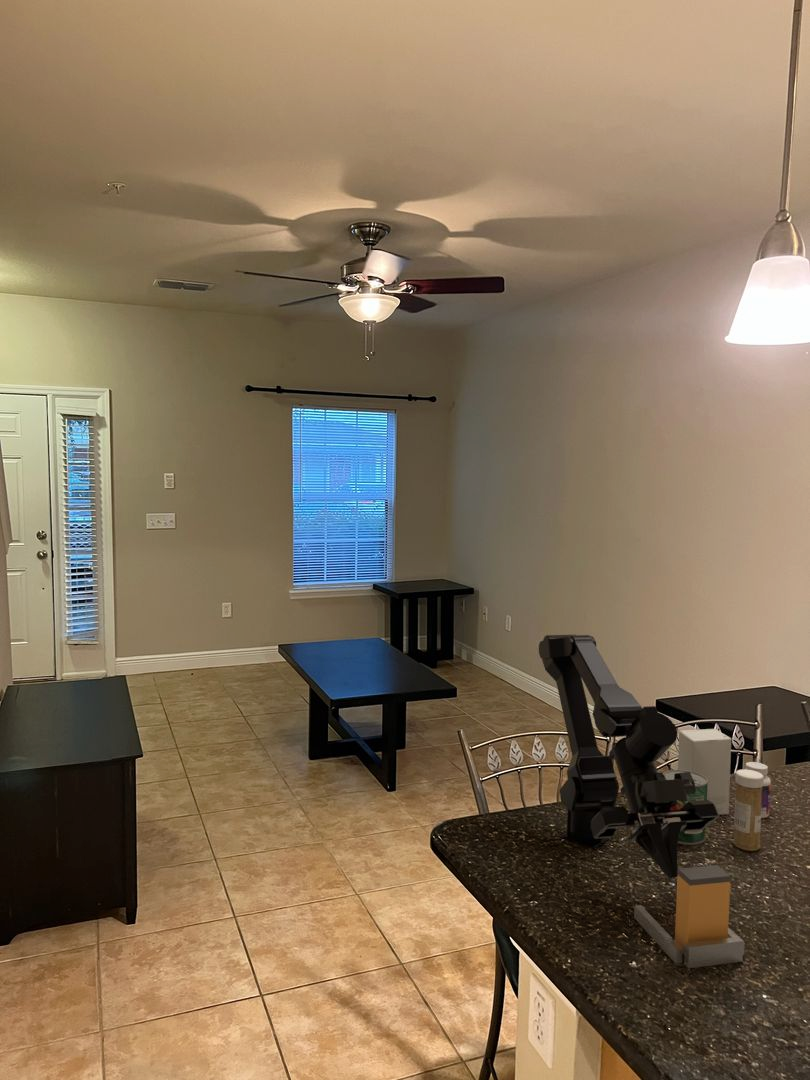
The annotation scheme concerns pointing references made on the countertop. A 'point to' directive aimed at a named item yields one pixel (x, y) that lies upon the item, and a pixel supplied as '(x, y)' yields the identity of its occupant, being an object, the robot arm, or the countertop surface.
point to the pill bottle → (765, 788)
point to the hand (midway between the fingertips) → (673, 877)
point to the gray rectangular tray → (693, 945)
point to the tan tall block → (702, 904)
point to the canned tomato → (699, 795)
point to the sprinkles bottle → (748, 809)
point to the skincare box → (708, 762)
